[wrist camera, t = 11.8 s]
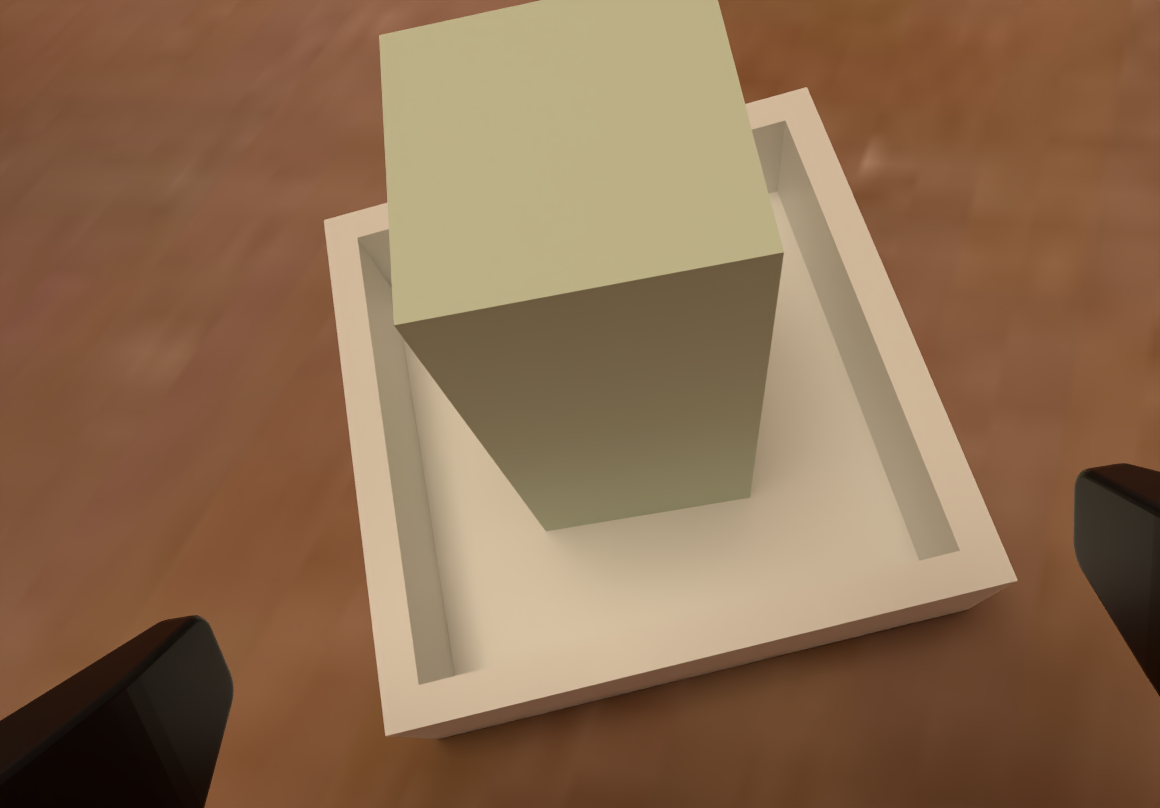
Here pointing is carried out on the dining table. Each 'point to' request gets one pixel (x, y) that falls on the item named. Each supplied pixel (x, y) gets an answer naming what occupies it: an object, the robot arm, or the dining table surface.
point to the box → (673, 538)
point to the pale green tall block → (585, 248)
